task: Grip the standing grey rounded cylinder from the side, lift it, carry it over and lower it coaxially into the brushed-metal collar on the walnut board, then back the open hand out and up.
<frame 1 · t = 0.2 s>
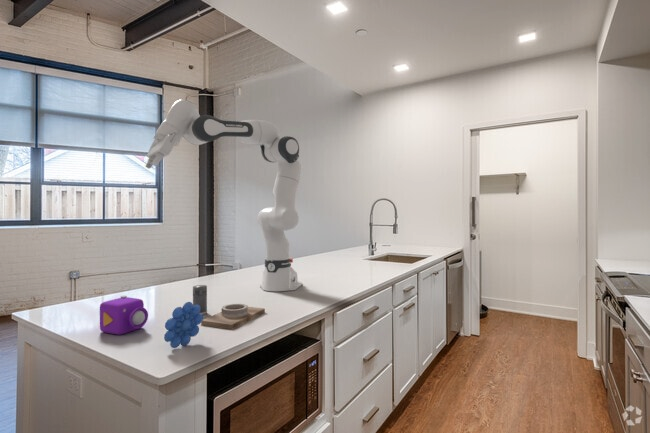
hand: (150, 166, 136), 54 cm above the counter, tool tilted 30°, fingers open, 8 cm apart
toy camera: (126, 331, 113), on the counter
mount: (234, 318, 126), on the counter
grey rounded cylinder: (199, 313, 131), on the counter
blue lumpy cluster: (182, 345, 101), on the counter
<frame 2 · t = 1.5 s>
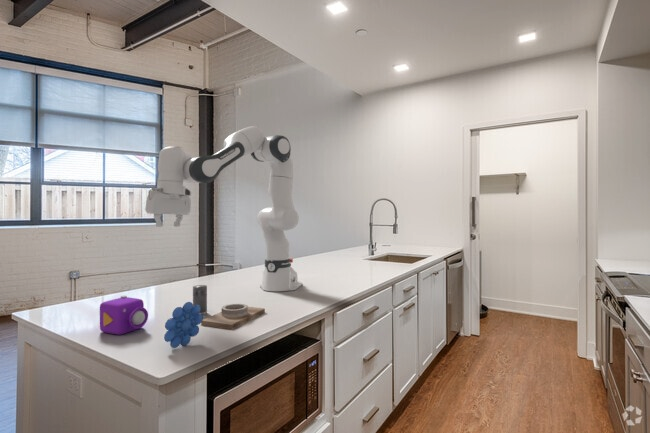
hand: (168, 226, 135), 31 cm above the counter, tool pointing down, fingers open, 8 cm apart
nothing on the counter moved.
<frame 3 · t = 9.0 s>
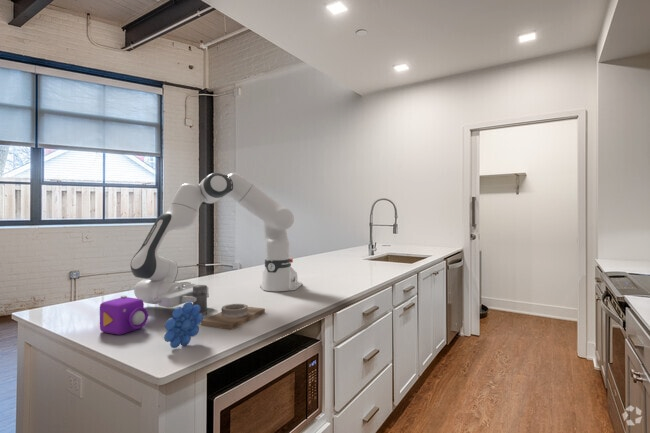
hand: (201, 297, 131), 6 cm above the counter, tool horizontal, fingers closed on grey rounded cylinder, 5 cm apart
grey rounded cylinder: (199, 313, 131), on the counter, touching gripper
everything else where it was.
when the fingers open (9 cm above the counter, at t = 14.4 s): grey rounded cylinder drops 1 cm, resting on mount.
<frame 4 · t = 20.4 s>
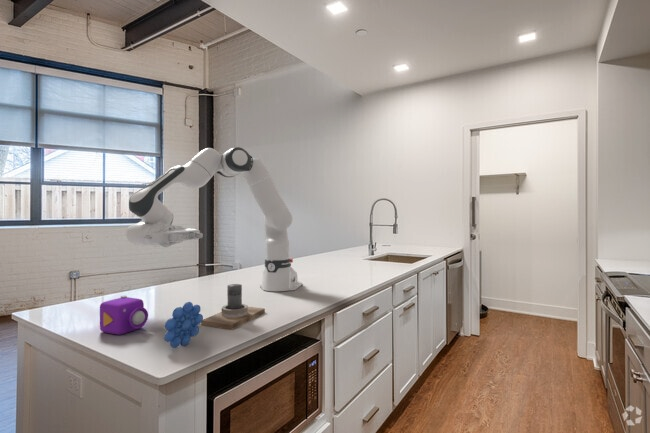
hand: (192, 236, 132), 28 cm above the counter, tool horizontal, fingers open, 8 cm apart
grey rounded cylinder: (234, 314, 126), point 1 cm above the counter, touching mount
everything else where it was.
at the end: grey rounded cylinder 0.0 cm off-centre on the mount, point 1.5 cm above the mount's base; grey rounded cylinder tilted 0°; the gripper is holding nothing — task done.
